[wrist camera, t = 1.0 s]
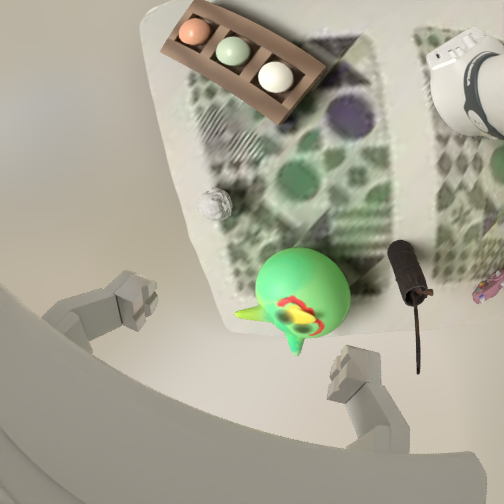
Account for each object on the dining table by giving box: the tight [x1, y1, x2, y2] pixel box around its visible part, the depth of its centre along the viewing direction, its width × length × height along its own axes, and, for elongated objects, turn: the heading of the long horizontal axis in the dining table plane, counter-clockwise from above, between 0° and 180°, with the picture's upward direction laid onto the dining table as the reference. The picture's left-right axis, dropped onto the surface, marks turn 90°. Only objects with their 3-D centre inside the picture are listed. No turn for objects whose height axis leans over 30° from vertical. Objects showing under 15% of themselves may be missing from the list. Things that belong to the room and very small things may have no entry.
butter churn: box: [387, 240, 433, 374], centre depth 34 cm, size 9×10×28 cm
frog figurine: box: [198, 188, 233, 221], centre depth 48 cm, size 6×7×7 cm
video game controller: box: [473, 270, 504, 304], centre depth 40 cm, size 10×5×7 cm, turn 140°
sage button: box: [216, 37, 252, 67], centre depth 33 cm, size 5×5×2 cm
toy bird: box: [234, 247, 351, 356], centre depth 48 cm, size 18×17×15 cm
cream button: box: [258, 62, 294, 93], centre depth 34 cm, size 5×5×2 cm
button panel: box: [160, 0, 327, 125], centre depth 35 cm, size 12×25×4 cm, turn 55°
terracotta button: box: [179, 18, 212, 46], centre depth 32 cm, size 5×5×2 cm
